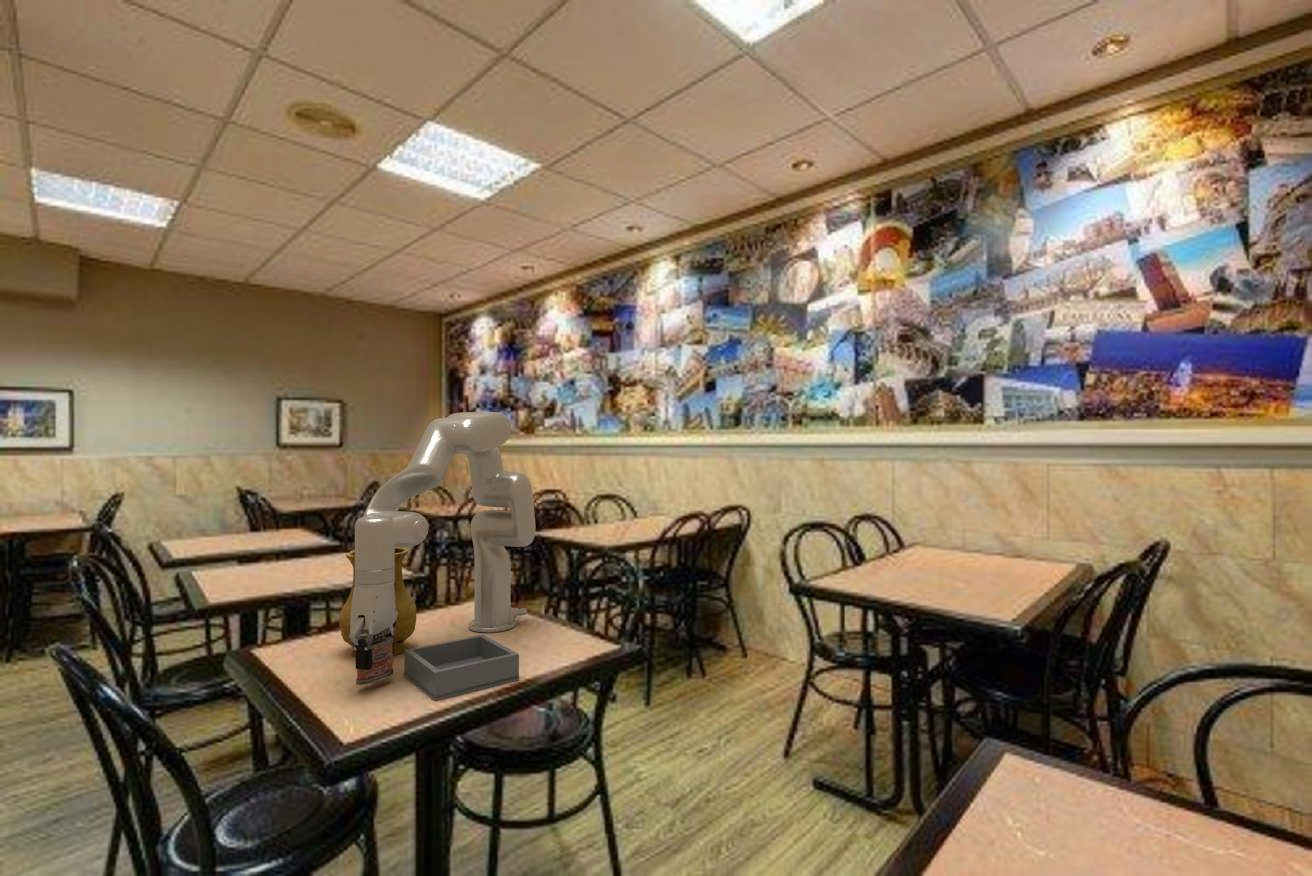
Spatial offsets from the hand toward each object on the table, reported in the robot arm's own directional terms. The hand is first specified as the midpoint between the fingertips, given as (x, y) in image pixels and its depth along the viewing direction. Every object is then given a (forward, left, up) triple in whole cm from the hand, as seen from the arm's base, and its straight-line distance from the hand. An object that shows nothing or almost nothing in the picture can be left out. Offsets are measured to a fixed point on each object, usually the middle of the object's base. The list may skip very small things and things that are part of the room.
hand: (375, 661), depth 136 cm
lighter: (0, 0, -4) cm, 4 cm away
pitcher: (-7, -23, -5) cm, 25 cm away
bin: (-16, +6, -5) cm, 18 cm away
